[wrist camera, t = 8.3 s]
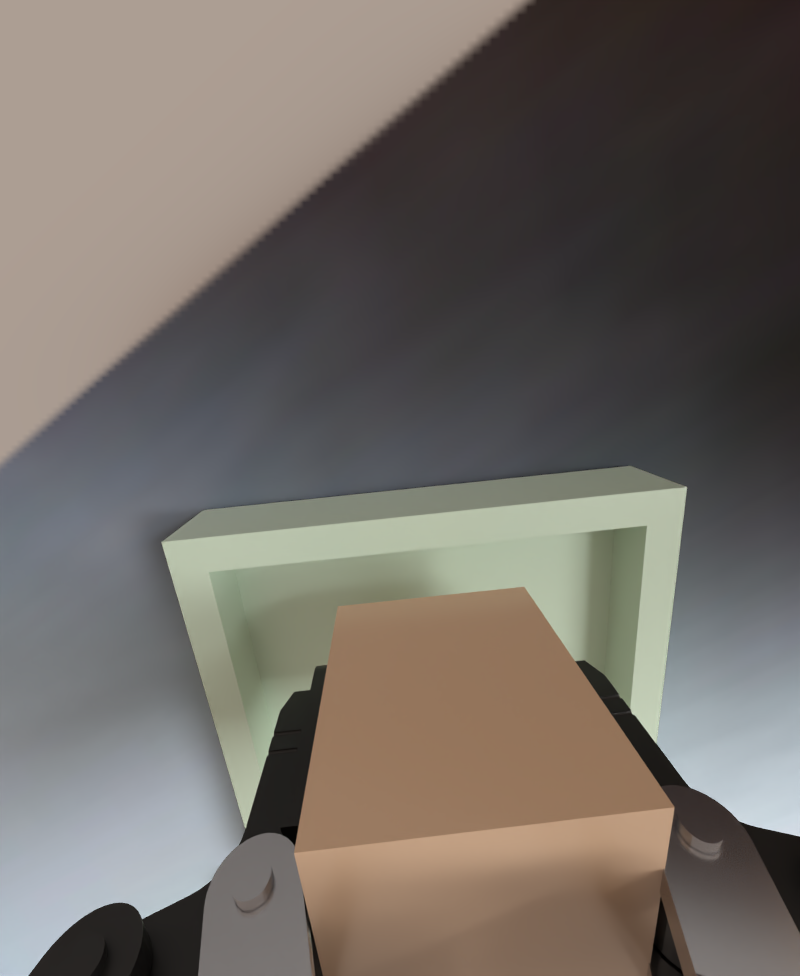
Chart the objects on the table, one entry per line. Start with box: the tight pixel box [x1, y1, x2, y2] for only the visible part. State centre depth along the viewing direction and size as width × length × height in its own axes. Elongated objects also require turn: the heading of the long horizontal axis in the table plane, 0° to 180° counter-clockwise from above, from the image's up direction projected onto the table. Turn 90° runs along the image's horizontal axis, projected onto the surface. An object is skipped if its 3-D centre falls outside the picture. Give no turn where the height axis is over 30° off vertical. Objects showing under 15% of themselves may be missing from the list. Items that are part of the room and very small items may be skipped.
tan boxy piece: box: [294, 587, 675, 976], centre depth 8 cm, size 4×4×5 cm
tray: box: [161, 466, 687, 829], centre depth 14 cm, size 14×15×2 cm
